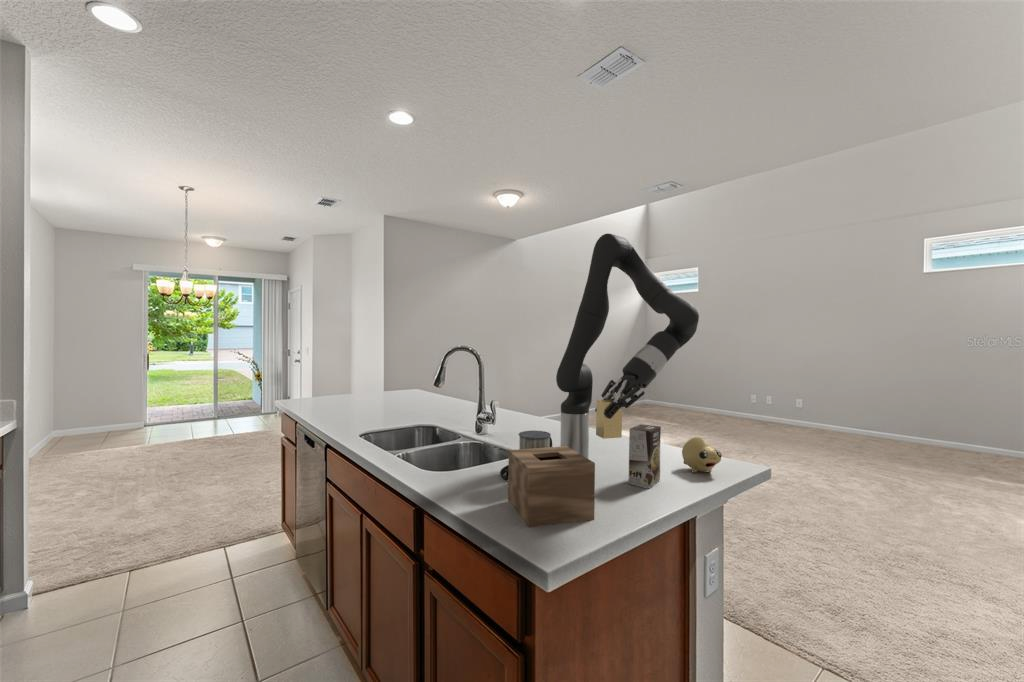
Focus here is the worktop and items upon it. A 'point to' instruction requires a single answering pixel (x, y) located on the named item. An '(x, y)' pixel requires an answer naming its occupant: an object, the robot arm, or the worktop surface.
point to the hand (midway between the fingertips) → (602, 414)
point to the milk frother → (530, 444)
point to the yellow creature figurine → (700, 455)
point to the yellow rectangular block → (608, 421)
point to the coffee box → (644, 455)
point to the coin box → (551, 485)
